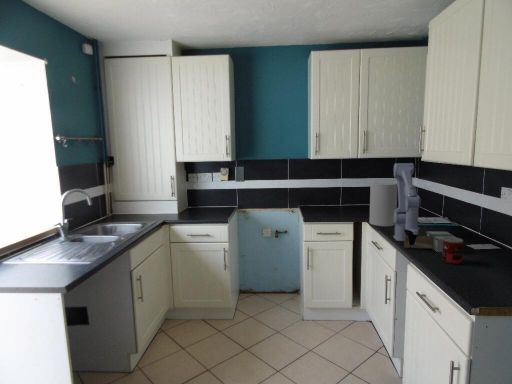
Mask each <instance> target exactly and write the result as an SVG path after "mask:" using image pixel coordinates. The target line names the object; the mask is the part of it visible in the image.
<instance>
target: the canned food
mask: <svg viewBox="0 0 512 384" xmlns="http://www.w3.org/2000/svg"><path fill="white" fill-rule="evenodd" d="M463 248H464V240H463V239H462V238H460V237H456V236H455V237H444V238H443V252H442V253H441V254H442V256H441V259H442V261H443V260H444V261H446V262H449V263H455V264H458V265H460V264H459V263H461V264H462V262H463V251H464V249H463Z"/></svg>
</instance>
